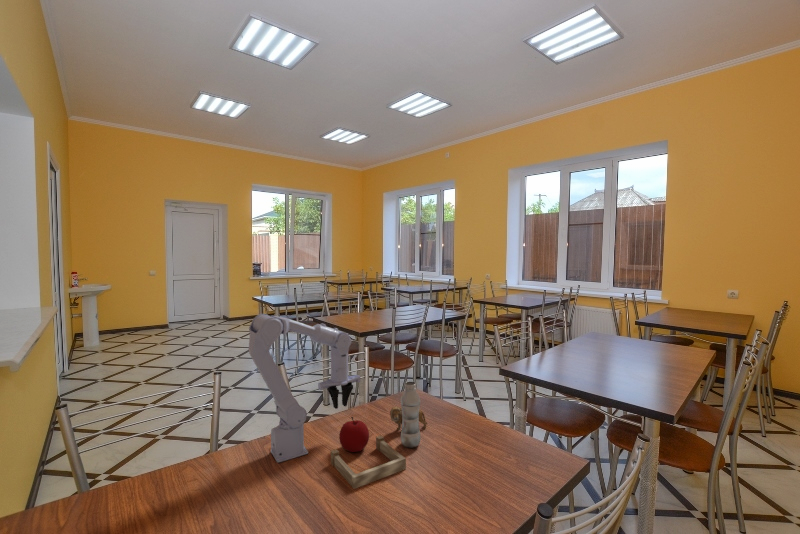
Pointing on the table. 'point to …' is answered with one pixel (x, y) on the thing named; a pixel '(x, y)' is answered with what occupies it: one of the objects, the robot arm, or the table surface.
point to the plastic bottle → (410, 416)
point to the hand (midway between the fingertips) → (340, 406)
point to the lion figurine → (397, 417)
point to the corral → (374, 473)
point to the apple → (354, 436)
